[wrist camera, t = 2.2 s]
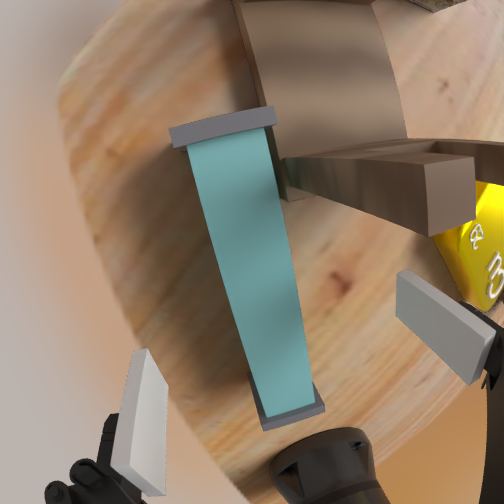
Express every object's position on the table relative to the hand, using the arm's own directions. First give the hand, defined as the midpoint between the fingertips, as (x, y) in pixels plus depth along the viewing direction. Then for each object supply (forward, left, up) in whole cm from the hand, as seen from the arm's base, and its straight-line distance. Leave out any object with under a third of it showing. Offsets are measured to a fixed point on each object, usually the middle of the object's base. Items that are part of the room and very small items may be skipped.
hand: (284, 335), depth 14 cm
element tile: (-3, -28, -10) cm, 30 cm away
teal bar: (0, 0, -10) cm, 10 cm away
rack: (+14, -9, -10) cm, 19 cm away
